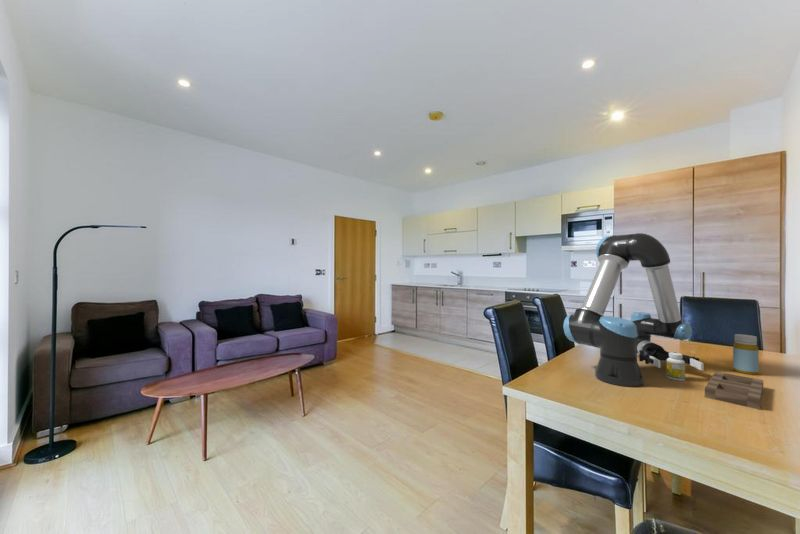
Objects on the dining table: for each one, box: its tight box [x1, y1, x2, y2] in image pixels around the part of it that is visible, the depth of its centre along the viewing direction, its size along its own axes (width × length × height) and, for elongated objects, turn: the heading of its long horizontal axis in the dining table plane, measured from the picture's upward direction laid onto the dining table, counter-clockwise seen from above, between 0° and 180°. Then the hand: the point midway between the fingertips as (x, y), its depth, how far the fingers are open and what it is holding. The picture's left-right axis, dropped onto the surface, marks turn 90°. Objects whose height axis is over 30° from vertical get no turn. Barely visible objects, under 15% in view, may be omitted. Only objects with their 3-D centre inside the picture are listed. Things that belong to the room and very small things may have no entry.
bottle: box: [732, 333, 760, 376], centre depth 129 cm, size 7×7×15 cm
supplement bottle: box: [666, 351, 686, 382], centre depth 122 cm, size 5×5×10 cm
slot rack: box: [704, 371, 764, 410], centre depth 108 cm, size 26×12×3 cm, turn 129°
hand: (680, 365), depth 119 cm, fingers open, 13 cm apart
